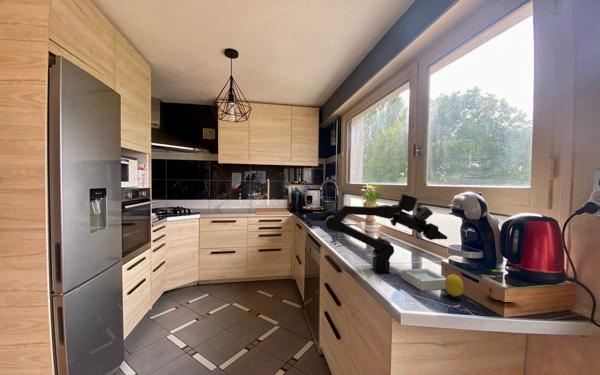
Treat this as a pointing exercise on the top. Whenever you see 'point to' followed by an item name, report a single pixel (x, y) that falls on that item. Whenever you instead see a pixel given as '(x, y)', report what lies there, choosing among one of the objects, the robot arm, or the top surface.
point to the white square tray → (424, 279)
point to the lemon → (454, 285)
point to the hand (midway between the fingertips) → (441, 235)
